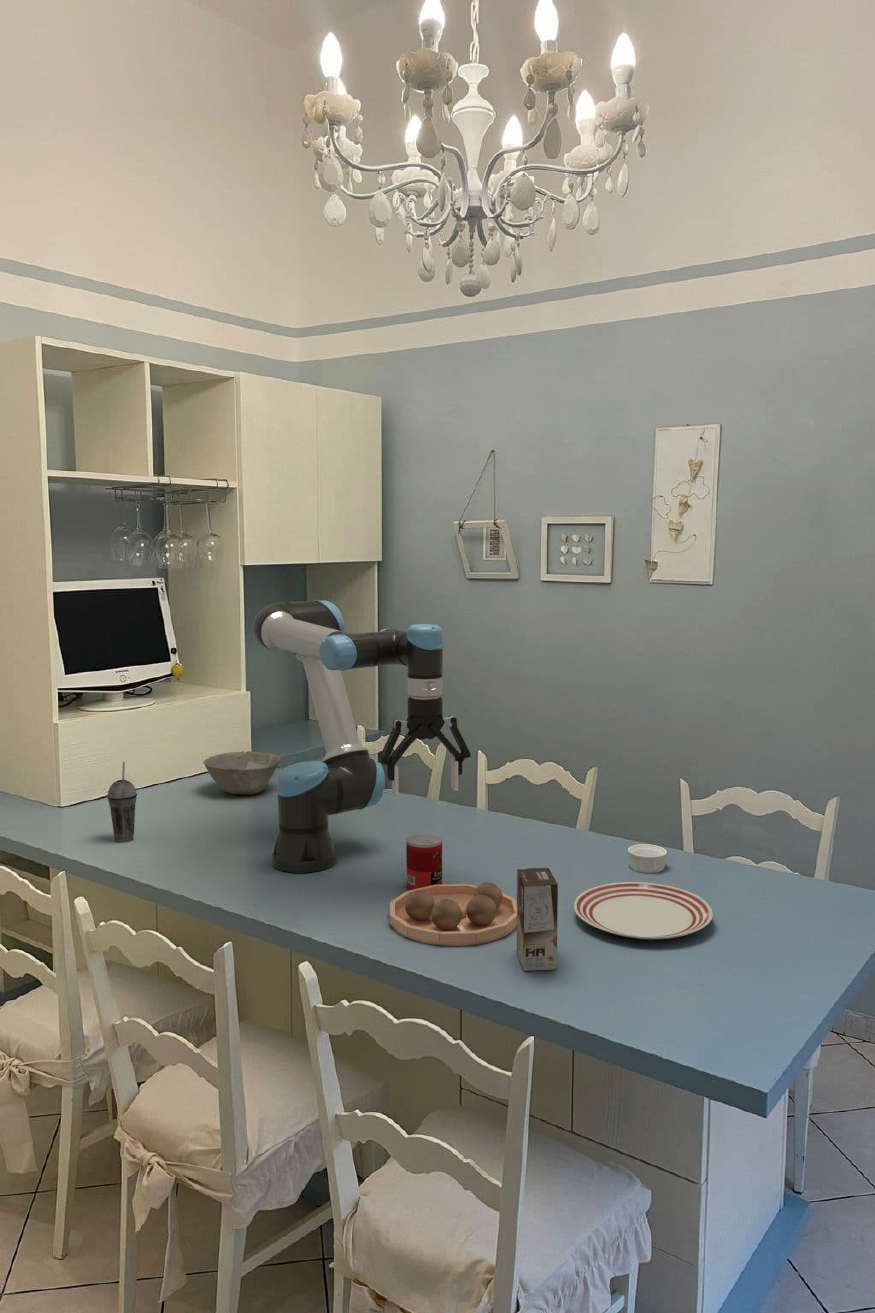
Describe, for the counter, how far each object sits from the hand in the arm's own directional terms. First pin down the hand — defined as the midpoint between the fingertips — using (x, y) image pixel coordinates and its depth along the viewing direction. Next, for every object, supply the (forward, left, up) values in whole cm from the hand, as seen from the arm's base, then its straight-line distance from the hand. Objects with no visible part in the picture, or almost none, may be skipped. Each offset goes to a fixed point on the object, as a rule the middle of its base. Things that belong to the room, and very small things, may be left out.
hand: (425, 792), depth 218 cm
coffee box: (+36, -23, -22) cm, 48 cm away
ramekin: (+40, +35, -22) cm, 57 cm away
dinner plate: (+48, +4, -22) cm, 53 cm away
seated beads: (+15, -14, -21) cm, 29 cm away
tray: (+14, -13, -22) cm, 29 cm away
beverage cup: (-84, -6, -22) cm, 87 cm away
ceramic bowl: (-86, +44, -22) cm, 99 cm away
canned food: (0, 0, -22) cm, 22 cm away
